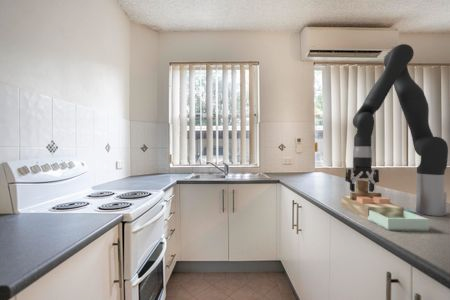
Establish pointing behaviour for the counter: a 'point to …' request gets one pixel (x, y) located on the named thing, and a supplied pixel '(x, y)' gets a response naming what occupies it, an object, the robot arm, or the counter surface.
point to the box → (400, 222)
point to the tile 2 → (381, 200)
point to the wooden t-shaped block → (362, 191)
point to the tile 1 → (365, 200)
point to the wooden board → (371, 208)
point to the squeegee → (412, 212)
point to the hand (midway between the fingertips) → (361, 191)
